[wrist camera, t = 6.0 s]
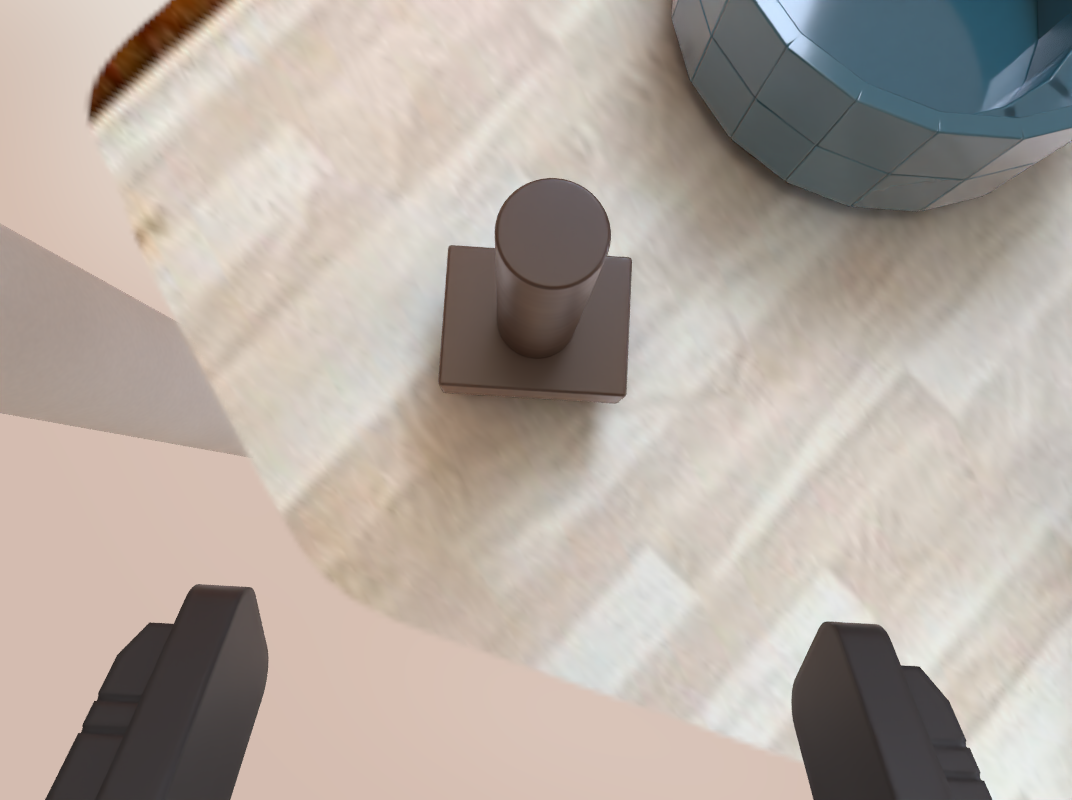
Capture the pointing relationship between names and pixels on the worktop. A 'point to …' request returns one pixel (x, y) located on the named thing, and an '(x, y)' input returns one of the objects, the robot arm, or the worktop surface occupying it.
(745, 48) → the bowl
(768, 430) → the worktop surface
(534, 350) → the brown stamp
